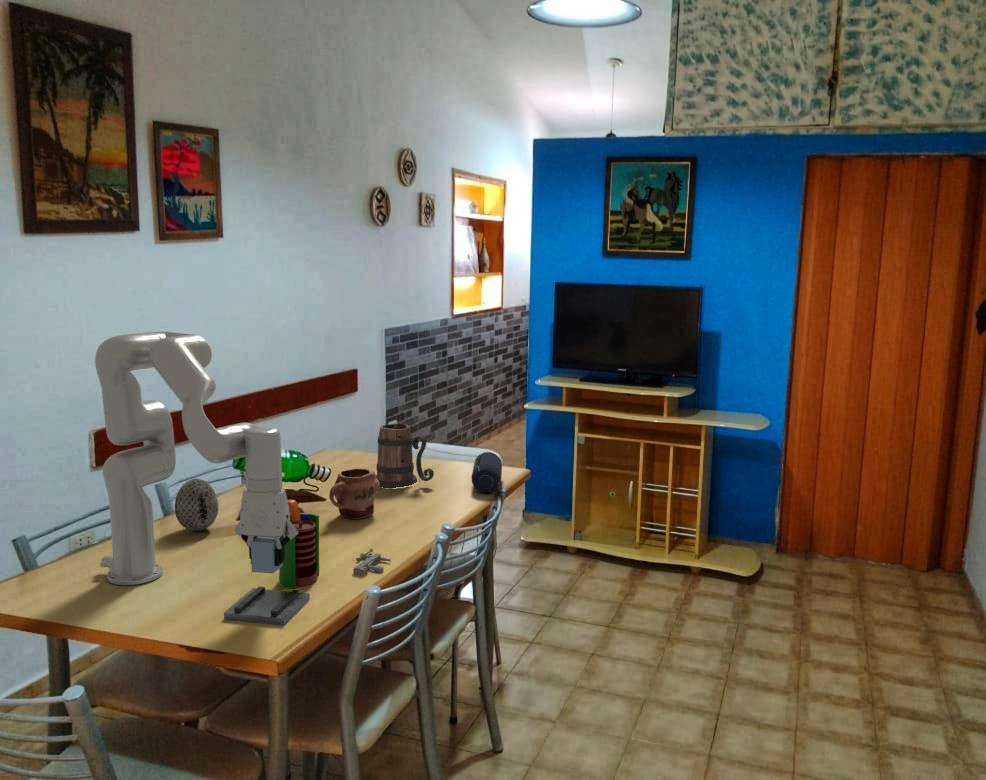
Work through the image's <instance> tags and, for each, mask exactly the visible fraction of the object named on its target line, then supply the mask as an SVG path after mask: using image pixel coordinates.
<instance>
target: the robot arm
mask: <svg viewBox="0 0 986 780" xmlns="http://www.w3.org/2000/svg"><path fill="white" fill-rule="evenodd" d="M212 354H213V353H212V349H211V346H210V344H209V343H208V341H206V339H205V338H203V337H202V336H200V335H198V334H193V333H184V332H173V331H164V330H163V331H150V332H140V333H139V332H137V333H126V334H120V335H115V336H112V337H109V338H107V339H106V340H104V341H103V342H101V343H100V345H99V346H98V347H97V350H96V352H95V358H94V364H95V365H94V366H95V369H96V370H95V371H96V374H97V378H98V380H99V383H100V384H99V385H100V388H101V395H102V396H101V397H102V405H103V416H104V426H105V431H106V437H107V439H108V441H110V443H112V444H113V445H115V446H129V445H132V444H134V445H135V444H138V443H142V442H143V445H142V446H138V447H132V448H129V449H125V450H121V451H118V452H116V453H114V454H112V455H110V456H109V457H108V458H107V459H106V460H105V462H103V463H104V464H103V466H102V477H103V480H104V484H105V488H106V492H107V496H108V506H109V519H110V533H111V549H112V551H111V552H112V556H108V555H107V556H105V555H104V556H103V557H101V561H100V564H99V566H100V568H108V569H109V571H108V572H107V575H106V580H107V581H108V583H110V584H112V585H118V586H135V585H140V584H146V583H149V582H152V581H155V580H157V579H158V578H160V577H161V576H162V574H163V573H164V572H163V566H162V565H159V564H158V563H156V551H155V550H156V549H155V531H154V529H155V527H154V513H153V503H152V500H151V498H150V497H149V495H147V493H146V491H145V489H144V487H147V486H149V485H153V484H155V483H159V482H162V481H164V480H168V479H169V478H170V477H171V476H172V475H173V474H174V473H175V469H176V465H177V463H176V462H177V457H176V447H175V446H176V445H175V436H174V426H173V425H174V424H173V418H172V416H171V415H172V414H171V413H170V411H169V409H168V408H167V407H166V405H164V403H162V402H161V401H157V400H151V399H150V400H142V389H141V385H140V383H139V381H138V379H137V378H136V376H135V375H134V374H133V373H132V371H139V370H146V369H152V368H153V369H155V370H156V371H157V373H158V374H159V376H160V377H161V378H162V379H163V381H164V382H165V383H166V385H167V386H168V387H169V389H170V390H171V391H172V392H173V394H174V395H175V396H176V398H178V400H179V402H180V403H181V404H182V410H181V421H182V426H183V431H184V434H185V436H186V437H187V439H188V440H189V442H190V444H191V445H192V446H193V447H194V449H195V450H196V451H197V453H198V454H199V455H200V457H202V458H203V459H205V461H207V462H209V463H211V464H218V465H219V464H223V463H228V462H230V461H234V460H236V459H240V458H245V472H246V476H245V477H241V478H240V483H241V484H243V485H245V488H246V489H244V490H243V491H242V496H241V502H240V503H241V504H240V513H239V522H238V524H237V525H236V526H235V528H234V529H233V531H234V532H235V534H236V535H238V536H240V538H241V540H242V541H244V542H245V544H246V546H247V547H248V553H249V554H248V556H249V559H250V560H251V541H252V540H254V539H255V538H256V537H273V538H274V541H275V544H276V549H275V566H279V565H280V564H282V563H283V561H284V559H285V548H284V546H285V545H286V544H287V543H288V542H289V541H290V540H291V539H292V538H294V537H295V536H296V535H298V531H297V530H296V528H295V527H294V526H293V524H292V523H291V522H290V514H291V513H290V511H289V506H288V500H289V499H288V497H287V496H288V495H287V493H286V489H285V488H283V474H282V473H283V472H282V469H283V468H282V438H281V433H280V431H279V430H278V429H277V428H274V427H269V426H268V427H267V426H259V425H257V424H254V423H251V422H239V423H235V424H230V425H225V426H221V427H217V428H216V427H215V426H214V425H213V423H212V422H211V420H210V419H209V418H208V417H207V416H206V415H207V414H205V411H204V404H206V403H207V401H208V400H209V399H211V397H212V396H213V394H214V393H215V392H216V389H217V384H216V382H215V380H214V379H213V378H212V377H211V375H210V374H209V372H208V371H207V370H206V369H205V368H206V367H208V366H209V365H210V363H211V361H212V357H213V355H212ZM286 531H288V532H289V534H288V535H287V536H286V537H285V535H284V533H285V532H286ZM250 564H251V565H252V562H251V561H250Z"/></svg>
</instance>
